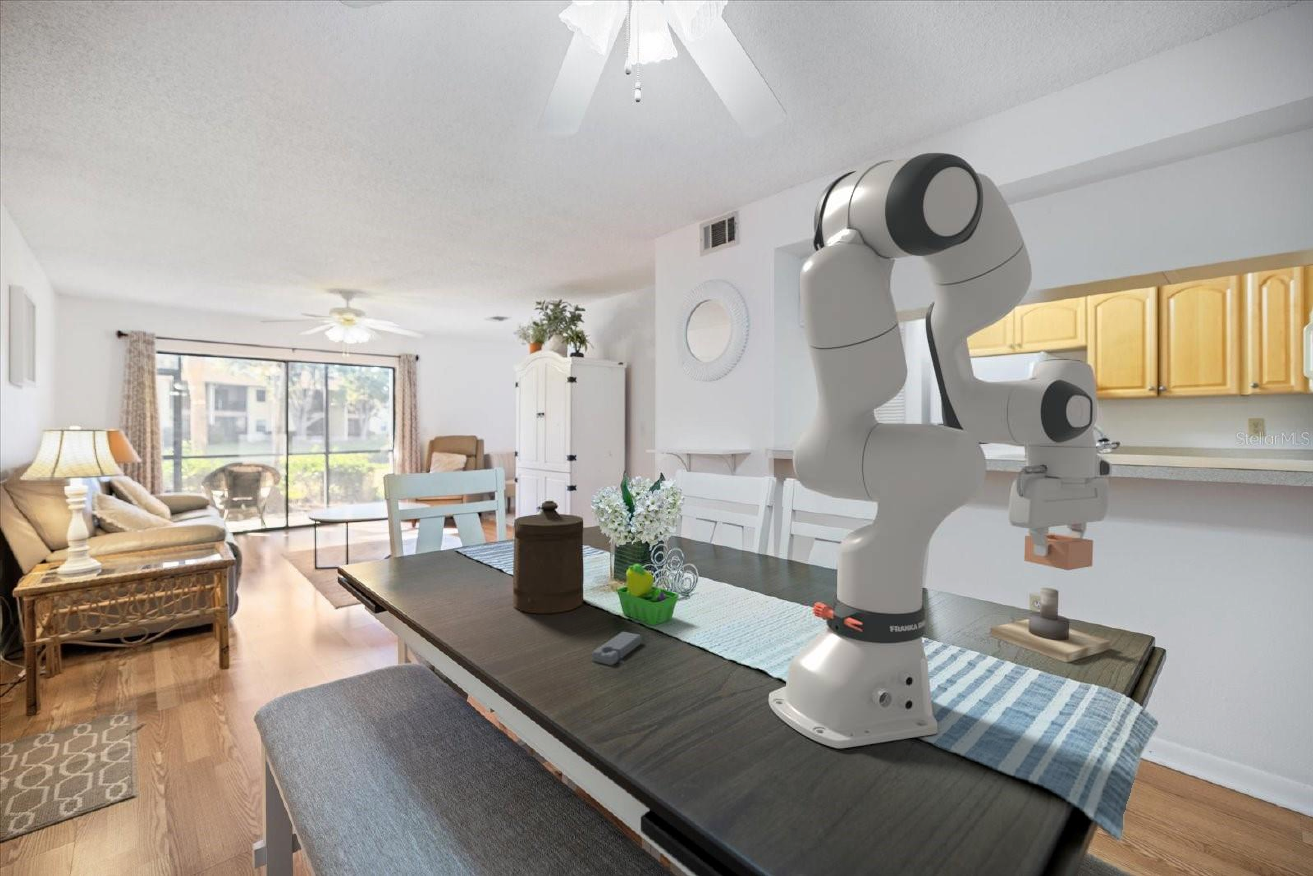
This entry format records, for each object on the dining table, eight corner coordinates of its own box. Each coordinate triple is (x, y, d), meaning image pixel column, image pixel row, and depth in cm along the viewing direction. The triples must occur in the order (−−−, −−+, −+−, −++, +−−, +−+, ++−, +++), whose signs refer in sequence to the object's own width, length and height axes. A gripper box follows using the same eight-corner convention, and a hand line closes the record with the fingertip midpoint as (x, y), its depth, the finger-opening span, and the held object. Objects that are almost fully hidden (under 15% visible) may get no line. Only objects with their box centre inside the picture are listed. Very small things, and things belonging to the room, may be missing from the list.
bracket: (641, 645, 101) (641, 634, 100) (612, 668, 91) (612, 655, 91) (622, 642, 102) (622, 631, 102) (591, 663, 93) (591, 651, 93)
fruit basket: (680, 619, 113) (681, 563, 112) (648, 631, 107) (649, 571, 106) (641, 606, 121) (642, 553, 121) (609, 615, 115) (609, 560, 114)
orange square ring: (1067, 570, 85) (1068, 543, 85) (1024, 560, 91) (1025, 535, 91) (1092, 566, 88) (1093, 540, 88) (1048, 557, 94) (1049, 532, 93)
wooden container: (575, 590, 132) (575, 495, 131) (590, 610, 118) (591, 504, 118) (509, 596, 127) (509, 498, 126) (517, 618, 113) (517, 507, 112)
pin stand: (1066, 662, 94) (1067, 605, 93) (990, 635, 105) (991, 584, 105) (1109, 649, 99) (1111, 595, 99) (1033, 625, 111) (1034, 577, 111)
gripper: (1040, 467, 82) (1038, 563, 82) (1118, 464, 91) (1115, 551, 91) (997, 464, 87) (995, 554, 88) (1074, 462, 96) (1072, 543, 97)
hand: (1057, 552), depth 89 cm, fingers closed on orange square ring, 6 cm apart
